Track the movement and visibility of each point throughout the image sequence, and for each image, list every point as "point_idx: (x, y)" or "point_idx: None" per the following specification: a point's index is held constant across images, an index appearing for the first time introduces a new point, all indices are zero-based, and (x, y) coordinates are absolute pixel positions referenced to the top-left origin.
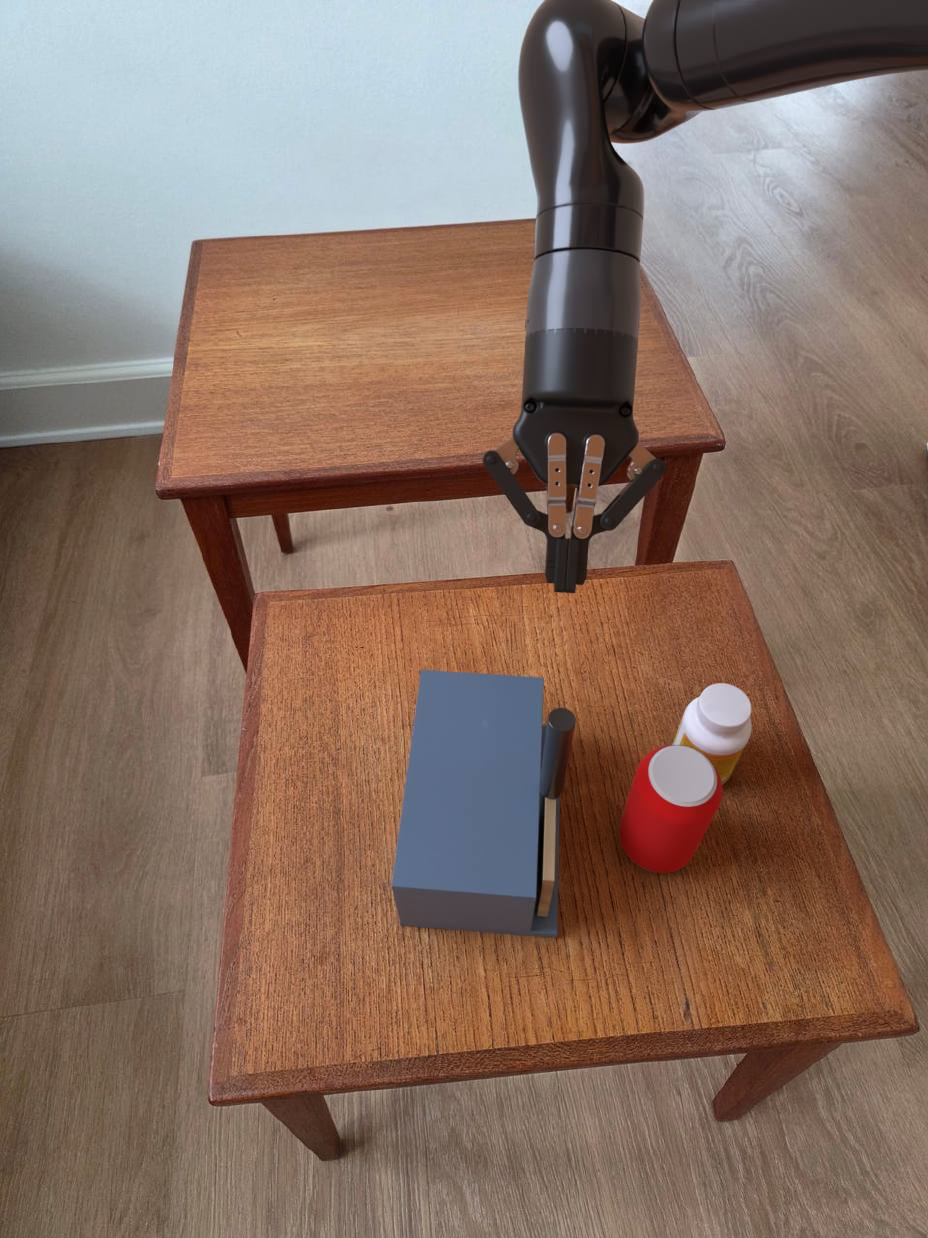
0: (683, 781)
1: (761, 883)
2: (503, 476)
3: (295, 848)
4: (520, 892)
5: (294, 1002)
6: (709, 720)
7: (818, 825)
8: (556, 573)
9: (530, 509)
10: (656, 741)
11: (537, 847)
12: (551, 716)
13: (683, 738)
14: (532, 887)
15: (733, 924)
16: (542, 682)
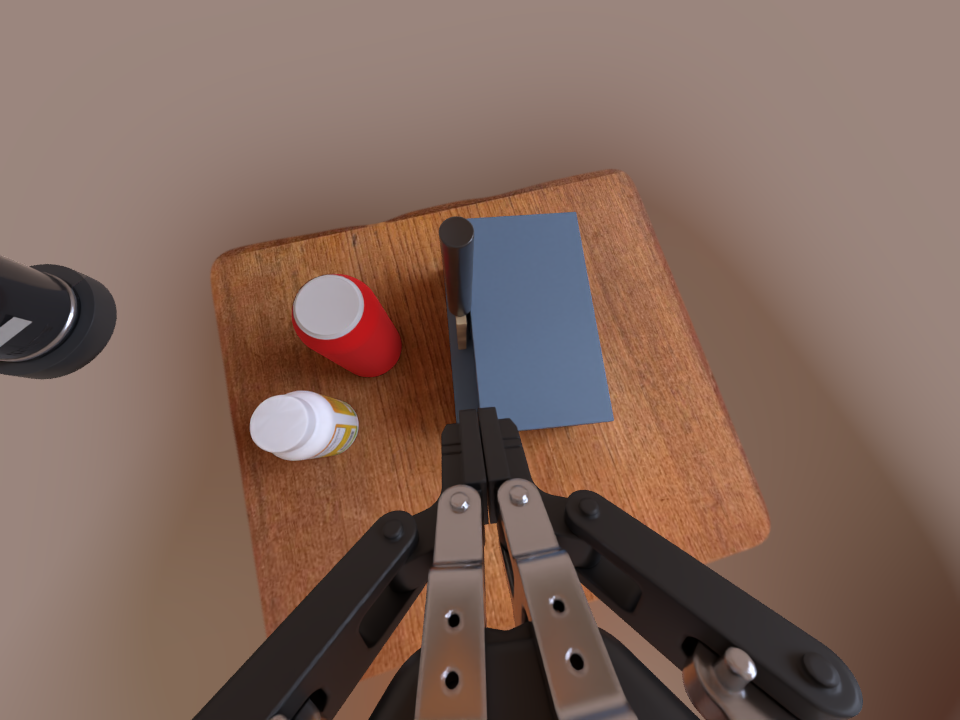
0: (327, 297)
1: (291, 330)
2: (730, 609)
3: (642, 301)
4: (474, 221)
5: (603, 209)
6: (299, 400)
7: (235, 385)
8: (498, 425)
9: (599, 527)
10: (370, 443)
11: None
12: (470, 232)
13: (337, 411)
14: None
15: None
16: None
